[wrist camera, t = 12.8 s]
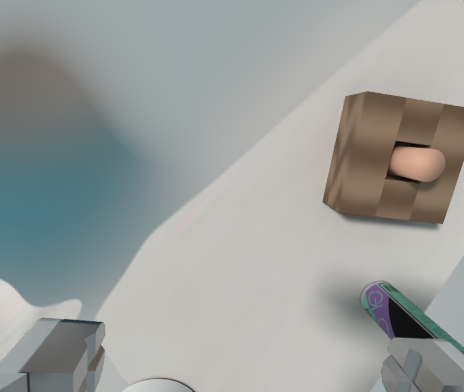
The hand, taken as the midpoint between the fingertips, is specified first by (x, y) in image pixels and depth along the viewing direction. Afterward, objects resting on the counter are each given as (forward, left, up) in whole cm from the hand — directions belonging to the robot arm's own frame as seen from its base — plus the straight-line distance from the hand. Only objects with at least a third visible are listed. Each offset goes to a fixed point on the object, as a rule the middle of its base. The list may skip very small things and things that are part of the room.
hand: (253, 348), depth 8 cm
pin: (+5, -22, -28) cm, 36 cm away
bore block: (+5, -22, -29) cm, 37 cm away
